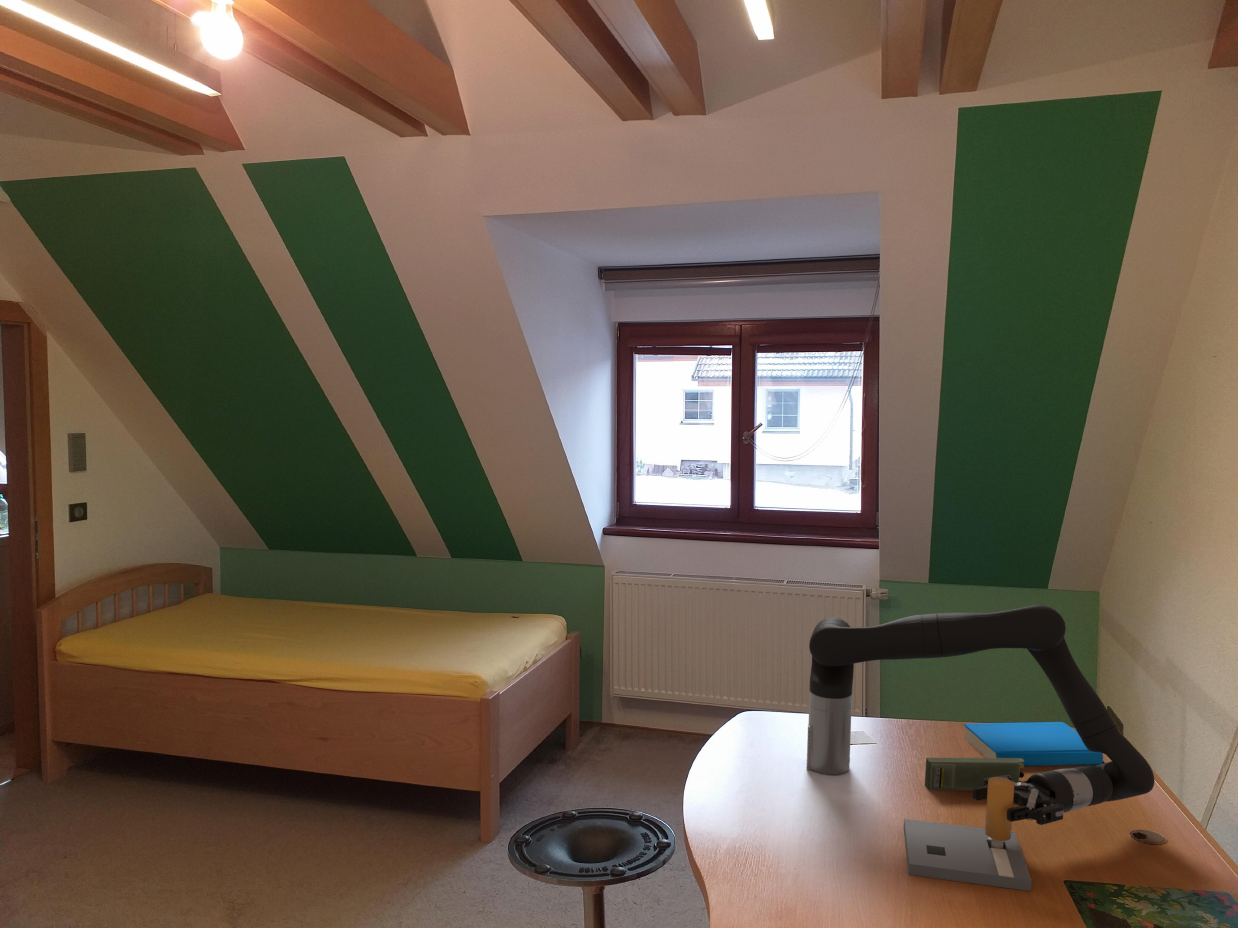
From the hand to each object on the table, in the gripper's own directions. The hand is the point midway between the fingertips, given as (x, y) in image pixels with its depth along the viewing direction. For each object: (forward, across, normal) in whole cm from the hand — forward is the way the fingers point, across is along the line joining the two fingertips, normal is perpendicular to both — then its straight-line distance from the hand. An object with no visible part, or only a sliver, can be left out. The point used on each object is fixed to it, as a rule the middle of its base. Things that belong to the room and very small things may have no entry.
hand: (991, 804), depth 169 cm
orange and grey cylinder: (-2, 0, +10) cm, 10 cm away
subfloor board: (+4, -1, +10) cm, 11 cm away
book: (-44, -35, +11) cm, 57 cm away
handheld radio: (-20, -23, +10) cm, 32 cm away
